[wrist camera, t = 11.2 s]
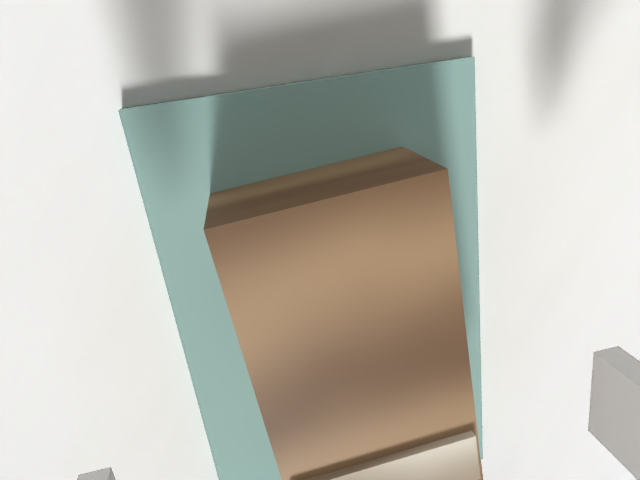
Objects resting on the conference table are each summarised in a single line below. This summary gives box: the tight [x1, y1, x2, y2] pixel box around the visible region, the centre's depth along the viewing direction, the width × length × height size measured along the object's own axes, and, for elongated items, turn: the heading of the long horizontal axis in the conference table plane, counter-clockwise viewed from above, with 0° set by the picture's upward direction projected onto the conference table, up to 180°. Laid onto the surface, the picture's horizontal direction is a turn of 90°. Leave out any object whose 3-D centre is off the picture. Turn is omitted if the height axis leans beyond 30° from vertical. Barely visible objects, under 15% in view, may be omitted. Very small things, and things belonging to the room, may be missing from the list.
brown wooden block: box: [204, 147, 483, 480], centre depth 18 cm, size 12×7×4 cm, turn 11°
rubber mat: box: [118, 57, 483, 480], centre depth 20 cm, size 12×18×1 cm, turn 7°
